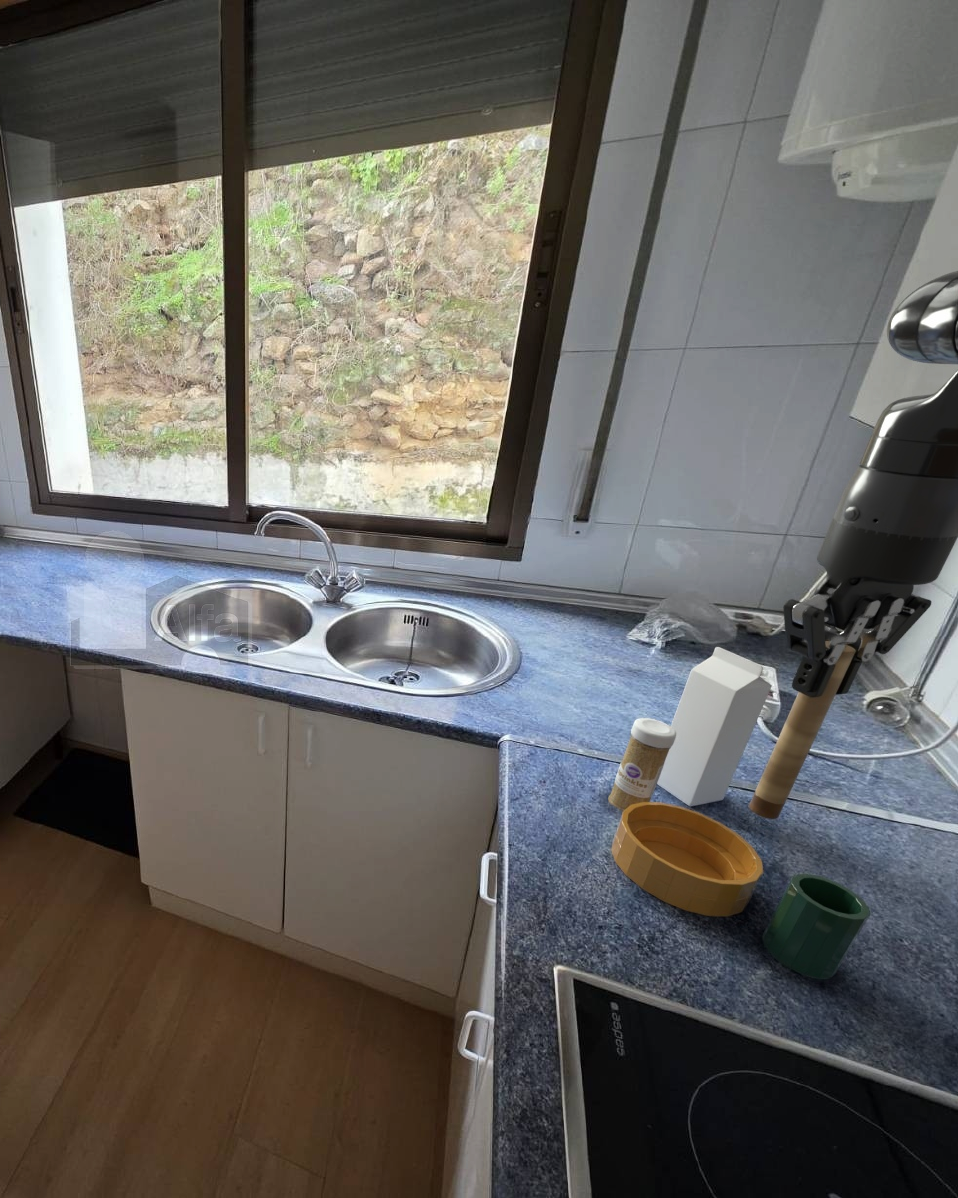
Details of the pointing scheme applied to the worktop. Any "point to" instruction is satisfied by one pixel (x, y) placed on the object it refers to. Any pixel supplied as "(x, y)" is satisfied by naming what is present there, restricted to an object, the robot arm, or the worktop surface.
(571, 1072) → the worktop surface
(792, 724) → the stick
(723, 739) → the milk
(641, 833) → the bowl
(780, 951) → the utensil pot
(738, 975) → the worktop surface
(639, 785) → the sprinkles bottle
